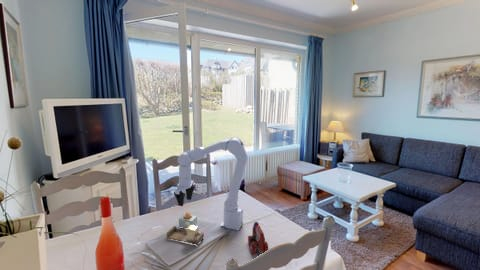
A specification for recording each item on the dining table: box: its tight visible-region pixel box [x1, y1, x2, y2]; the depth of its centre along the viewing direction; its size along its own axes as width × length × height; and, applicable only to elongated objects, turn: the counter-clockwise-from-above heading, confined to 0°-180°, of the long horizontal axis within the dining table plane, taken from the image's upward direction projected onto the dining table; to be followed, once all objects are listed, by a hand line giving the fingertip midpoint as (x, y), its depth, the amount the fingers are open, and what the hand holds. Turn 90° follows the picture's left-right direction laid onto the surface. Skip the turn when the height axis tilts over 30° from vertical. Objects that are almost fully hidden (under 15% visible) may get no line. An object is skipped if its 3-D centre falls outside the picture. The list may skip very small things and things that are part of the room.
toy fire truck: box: [247, 221, 269, 254], centre depth 98 cm, size 7×12×10 cm, turn 10°
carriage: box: [186, 225, 199, 242], centre depth 100 cm, size 5×4×5 cm
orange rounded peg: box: [184, 211, 192, 219], centre depth 111 cm, size 2×2×3 cm
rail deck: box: [166, 225, 205, 246], centre depth 102 cm, size 15×6×3 cm, turn 72°
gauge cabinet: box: [178, 213, 198, 228], centre depth 112 cm, size 7×5×5 cm
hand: (184, 202), depth 116 cm, fingers open, 7 cm apart
